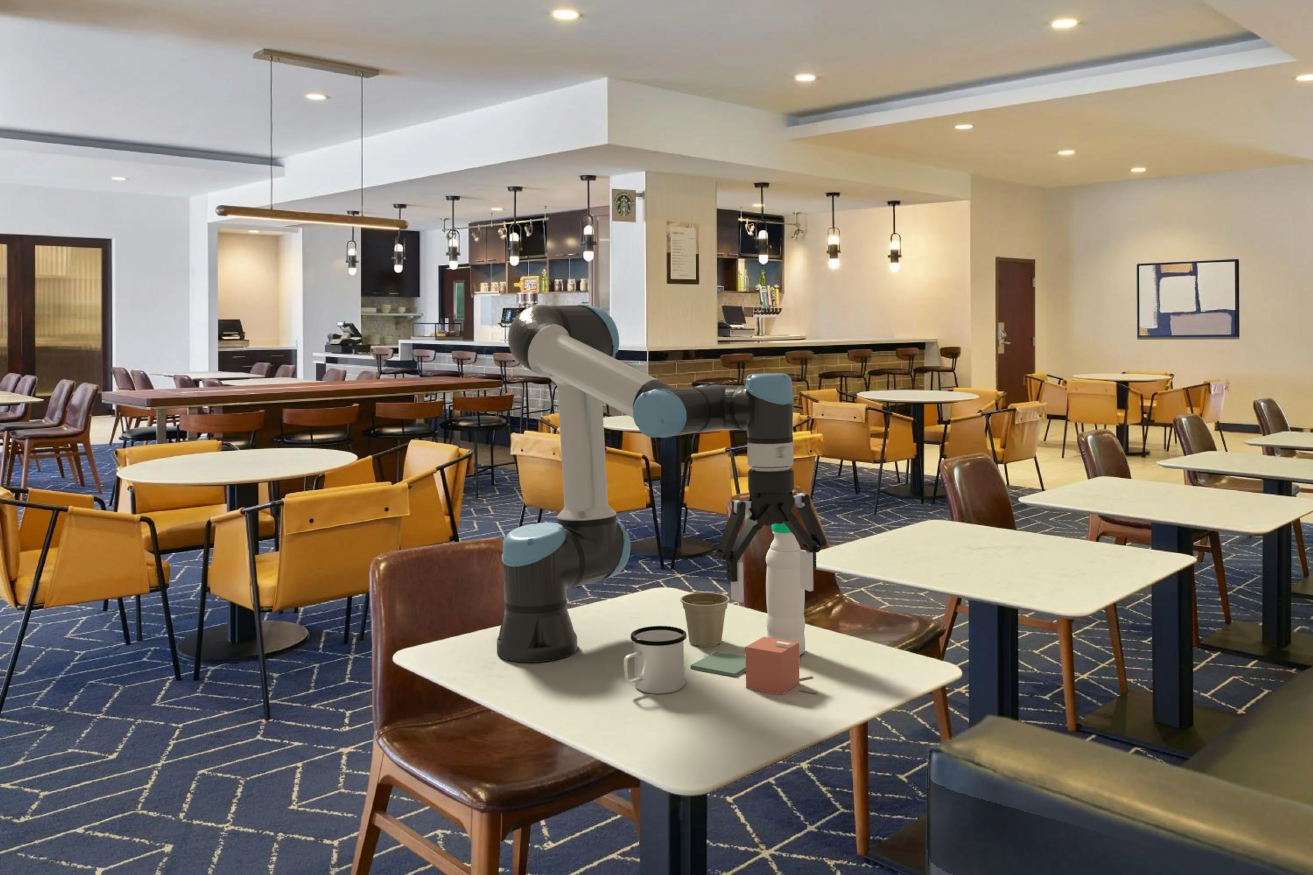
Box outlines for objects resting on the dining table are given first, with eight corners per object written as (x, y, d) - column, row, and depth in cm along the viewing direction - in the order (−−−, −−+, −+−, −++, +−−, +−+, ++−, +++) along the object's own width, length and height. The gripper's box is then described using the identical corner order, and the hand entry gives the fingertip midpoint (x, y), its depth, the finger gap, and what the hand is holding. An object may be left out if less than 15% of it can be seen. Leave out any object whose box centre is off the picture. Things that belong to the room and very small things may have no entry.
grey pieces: (759, 686, 172) (759, 663, 171) (783, 671, 179) (783, 649, 178) (812, 696, 166) (812, 672, 166) (834, 680, 173) (834, 657, 173)
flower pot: (740, 643, 195) (739, 599, 194) (700, 653, 190) (699, 607, 189) (710, 632, 203) (709, 589, 202) (671, 641, 198) (670, 597, 197)
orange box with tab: (745, 687, 171) (745, 643, 170) (764, 676, 176) (763, 633, 176) (781, 694, 167) (781, 649, 167) (799, 682, 173) (799, 638, 172)
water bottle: (804, 659, 185) (803, 522, 183) (764, 657, 187) (763, 521, 184) (806, 647, 192) (805, 515, 190) (768, 645, 193) (767, 514, 191)
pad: (690, 668, 181) (690, 665, 181) (716, 654, 189) (716, 651, 189) (735, 676, 176) (735, 673, 176) (759, 662, 184) (759, 659, 184)
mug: (663, 672, 180) (662, 622, 179) (699, 686, 172) (698, 633, 171) (608, 688, 172) (606, 636, 171) (643, 703, 165) (642, 648, 164)
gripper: (715, 476, 159) (718, 610, 161) (846, 464, 170) (847, 589, 172) (692, 471, 166) (695, 600, 168) (820, 459, 177) (821, 580, 179)
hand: (772, 595), depth 170 cm, fingers open, 13 cm apart
